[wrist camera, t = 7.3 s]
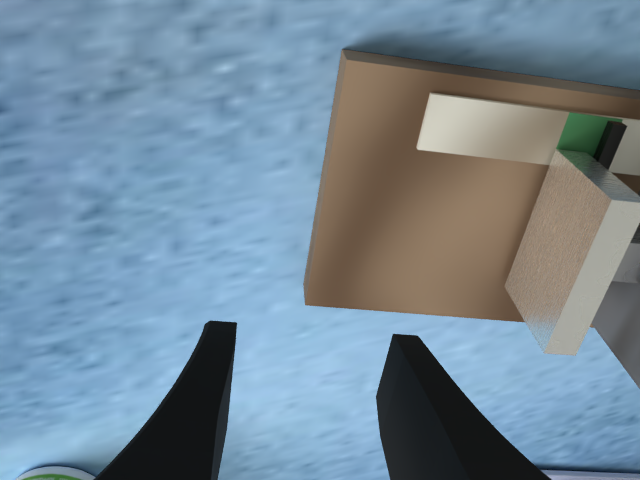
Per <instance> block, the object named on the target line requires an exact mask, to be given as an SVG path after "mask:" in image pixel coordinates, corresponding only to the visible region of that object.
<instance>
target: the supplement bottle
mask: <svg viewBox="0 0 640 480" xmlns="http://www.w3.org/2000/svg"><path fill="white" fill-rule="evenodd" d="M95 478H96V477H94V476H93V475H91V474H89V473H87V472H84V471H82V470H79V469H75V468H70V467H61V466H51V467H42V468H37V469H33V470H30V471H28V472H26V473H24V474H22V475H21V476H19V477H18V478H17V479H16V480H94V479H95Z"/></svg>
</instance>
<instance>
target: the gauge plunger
mask: <svg viewBox="0 0 640 480" xmlns="http://www.w3.org/2000/svg"><path fill="white" fill-rule="evenodd" d="M626 128H627V126H626V125H625V124H623V123H622V122H616V121H609V120H608V122H607V124H606V126H605V129H604V131H603V134H602V136H601V139H600V141H599V144H598V146H597V148H596V151H595V153H594V156H593V157H592V156H590V155H589V154H588V153H585V152H577V151H569V150H560V149H556V150H555V153H554V155H553V158H552V161H551V163H550V166H549V169H548V171H547V174H546V177H545V180H544V182H543V185H542V188H541V190H540V193H539V196H538V198H537V201H536V204H535V206H534V209H533V212H532V214H531V217H530V220H529V222H528V225H527V228H526V230H525V233H524V236H523V238H522V241H521V244H520V246H519V249H518V252H517V254H516V257H515V260H514V262H513V265H512V268H511V270H510V273H509V276H508V279H507V281H506V284H505V288H506V290H507V292H508V294H509V295H510V297H511V299H512V300H513V302H514V304H515V305H516V307H517V309H518V311H519V312H520V314H521V316H522V317H523V319H524V321H525V322H526V324H527V326H528V328H529V329H530V331H531V333H532V334H533V336H534V338H535V339H536V341H537V343H538V345H539V346H540V348H541V350H542V351H543V353H547V354H562V355H576V354H577V352H578V349H579V347H580V345H581V343H582V341H583V339H584V337H585V335H586V333H587V331H588V329H589V327H590V325H591V323H592V320H593V318H594V316H595V314H596V312H597V310H598V308H599V306H600V304H601V302H602V300H603V298H604V296H605V293H606V291H607V289H608V287H609V285H610V283H611V281H617V282H628V283H639V284H640V224H639V223H640V196H639V195H637V194H636V193H635V192H634V191H633V190H631V189H630V188H629V187H628V186H627V185H625V184H624V183H623V182H622V181H621V180H619V179H618V178H617V177H616V176H615V175H613V174H612V173H611V172H610V171H609V168H610V165H611V163H612V161H613V158H614V156H615V154H616V151H617V149H618V147H619V144H620V142H621V140H622V137H623V135H624V133H625V130H626Z"/></svg>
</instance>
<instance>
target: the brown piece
mask: <svg viewBox="0 0 640 480" xmlns="http://www.w3.org/2000/svg"><path fill="white" fill-rule="evenodd" d="M608 120H609V121H616V122H622V123H623V124H625V125H626V126H627V128H626V130H625V133H624V135H623V137H622V140H621V142H620V144H619V147H618V149H617V151H616V154H615V156H614V158H613V161H612V163H611V165H610V168H609V171H610V172H611V173H612V174H613V175H615V176H616V177H617V178H618V179H619V180H621V181H622V182H623V183H624V184H625V185H627V186H628V187H629V188H630V189H631V190H633V191H634V192H635V193H636V194H637V195H639V196H640V90H633V89H626V88H618V87H611V86H604V85H597V84H590V83H582V82H575V81H568V80H561V79H554V78H546V77H539V76H532V75H525V74H518V73H510V72H503V71H496V70H489V69H482V68H474V67H467V66H460V65H453V64H446V63H438V62H431V61H424V60H417V59H410V58H402V57H395V56H388V55H381V54H374V53H366V52H359V51H352V50H345V49H342V52H341V58H340V64H339V70H338V77H337V83H336V89H335V95H334V101H333V107H332V113H331V119H330V125H329V131H328V138H327V144H326V150H325V156H324V162H323V168H322V174H321V180H320V186H319V192H318V198H317V205H316V211H315V217H314V223H313V229H312V235H311V241H310V247H309V253H308V259H307V266H306V272H305V278H304V284H303V285H304V297H305V305H310V306H323V307H336V308H349V309H362V310H374V311H387V312H400V313H413V314H426V315H439V316H452V317H464V318H477V319H490V320H503V321H516V322H525V321H524V319H523V317H522V316H521V314H520V312H519V311H518V309H517V307H516V305H515V304H514V302H513V300H512V299H511V297H510V295H509V294H508V292H507V290H506V288H505V284H506V281H507V279H508V276H509V273H510V270H511V268H512V265H513V262H514V260H515V257H516V254H517V252H518V249H519V246H520V244H521V241H522V238H523V236H524V233H525V230H526V228H527V225H528V222H529V220H530V217H531V214H532V212H533V209H534V206H535V204H536V201H537V198H538V196H539V193H540V190H541V188H542V185H543V182H544V180H545V177H546V174H547V171H548V169H549V166H550V163H551V161H552V158H553V155H554V153H555V150H556V149H560V150H569V151H577V152H585V153H588V154H589V155H590V156H592V157H593V156H594V153H595V151H596V148H597V146H598V144H599V141H600V139H601V136H602V134H603V131H604V129H605V126H606V124H607V122H608ZM639 224H640V223H639ZM590 327H593V328H595V329H596V330H597V332H598V333H599V334H600V336H601V337H602V338H603V340H604V341H605V342H606V344H607V345H608V347H609V348H610V349H611V351H612V352H613V353H614V355H615V356H616V357H617V359H618V360H619V361H620V363H621V364H622V365H623V367H624V368H625V370H626V371H627V372H628V374H629V375H630V376H631V378H632V379H633V380H634V382H635V383H636V384H637V386H638V387H639V388H640V284H639V283H628V282H617V281H611V283H610V285H609V287H608V289H607V291H606V293H605V296H604V298H603V300H602V302H601V304H600V306H599V308H598V310H597V312H596V314H595V316H594V318H593V320H592V323H591V325H590Z"/></svg>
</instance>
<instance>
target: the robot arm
mask: <svg viewBox="0 0 640 480" xmlns="http://www.w3.org/2000/svg"><path fill="white" fill-rule="evenodd" d="M236 328H237V323H236V322H222V321H209V322H207V323H206V324H205V325H204V329H203V332H202V334H201V337H200V339H199V341H198V343H197V345H196V348H195V349H194V351H193V353H192V355H191V357H190V359H189V361H188V362H187V364H186V366H185V367H184V369H183V371H182V372H181V374H180V376H179V377H178V379H177V380H176V382H175V384H174V385H173V387H172V388H171V390H170V391H169V392H168V394H167V395H166V397H165V398H164V399H163V401H162V402H161V404H160V405H159V406H158V408H157V409H156V411H155V412H154V413H153V415H152V416H151V417H150V418H149V420H148V421H147V422H146V423H145V425H144V426H143V427H142V428H141V430H140V431H139V432H138V433H137V434H136V435H135V437H134V438H133V439H132V440H131V441H130V442H129V444H128V445H127V446H126V447H125V448H124V449H123V450H122V451H121V452H120V453H119V454H118V455H117V456H116V457H115V459H114V460H113V461H112V462H111V463H110V464H109V465H108V466H107V467H106V468H105V469H104V470H103V471H102V472H101V473H100V474H99V475H98V476H97V477H96V478H95V479H94V480H217V479H218V474H219V468H220V463H221V458H222V452H223V447H224V442H225V436H226V431H227V423H228V413H229V403H230V392H231V382H232V372H233V362H234V352H235V342H236ZM376 400H377V411H378V420H379V429H380V437H381V441H382V446H383V450H384V454H385V459H386V463H387V467H388V471H389V476H390V480H640V474H629V473H605V472H581V471H557V470H540V469H538V468H537V467H536V466H535V465H534V464H533V463H531V462H530V461H529V460H528V459H527V458H526V457H525V456H524V455H523V454H522V453H521V452H519V451H518V450H517V449H516V448H515V447H514V446H513V445H512V444H511V443H510V442H509V441H508V440H507V439H506V438H505V437H504V436H503V435H502V434H501V433H500V432H499V431H498V430H497V429H496V428H495V427H494V426H493V425H492V424H491V423H490V422H489V421H488V420H487V419H486V418H485V417H484V416H483V415H482V413H481V412H480V411H479V410H478V409H477V408H476V407H475V406H474V405H473V403H472V402H471V401H470V400H469V399H468V398H467V397H466V395H465V394H464V393H463V392H462V391H461V389H460V388H459V387H458V386H457V385H456V383H455V382H454V381H453V380H452V378H451V377H450V376H449V375H448V373H447V372H446V371H445V370H444V368H443V367H442V366H441V365H440V363H439V362H438V361H437V359H436V358H435V357H434V356H433V354H432V353H431V352H430V351H429V349H428V348H427V347H426V345H425V344H424V343H423V342H422V340H421V339H420V338H419V337H418V336H415V335H401V334H393V336H392V340H391V343H390V347H389V351H388V354H387V358H386V362H385V365H384V369H383V373H382V377H381V380H380V384H379V388H378V391H377V395H376Z"/></svg>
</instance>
